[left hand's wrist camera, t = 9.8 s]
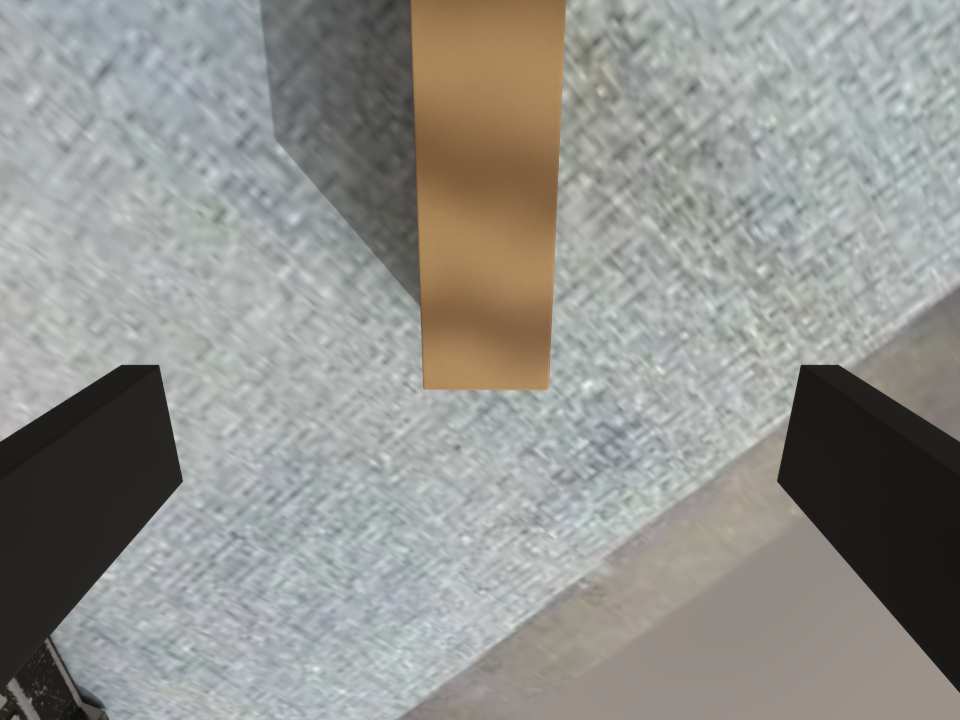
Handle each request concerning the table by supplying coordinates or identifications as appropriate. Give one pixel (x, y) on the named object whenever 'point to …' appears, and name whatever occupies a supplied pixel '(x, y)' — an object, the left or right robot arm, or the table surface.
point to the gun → (44, 692)
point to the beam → (487, 187)
